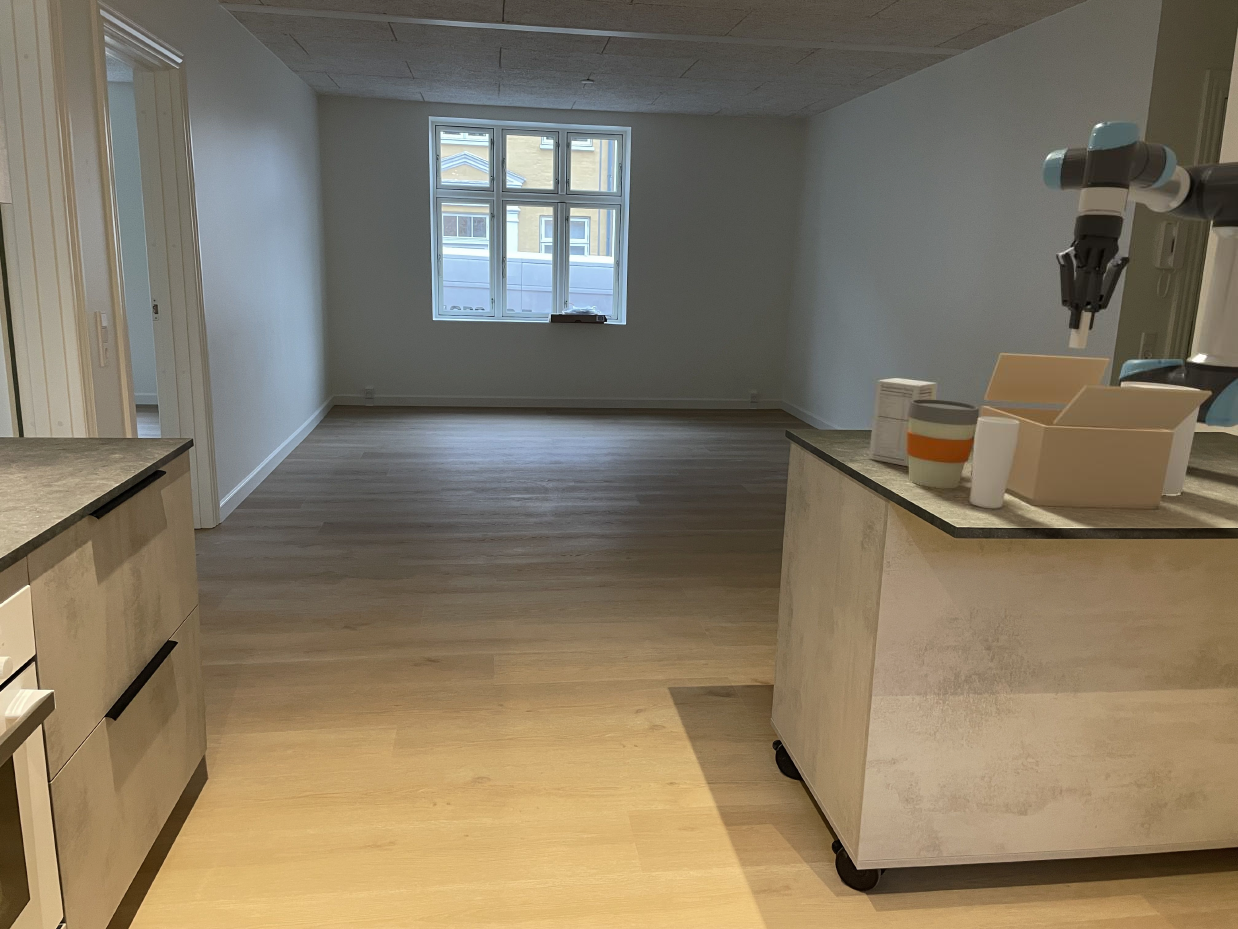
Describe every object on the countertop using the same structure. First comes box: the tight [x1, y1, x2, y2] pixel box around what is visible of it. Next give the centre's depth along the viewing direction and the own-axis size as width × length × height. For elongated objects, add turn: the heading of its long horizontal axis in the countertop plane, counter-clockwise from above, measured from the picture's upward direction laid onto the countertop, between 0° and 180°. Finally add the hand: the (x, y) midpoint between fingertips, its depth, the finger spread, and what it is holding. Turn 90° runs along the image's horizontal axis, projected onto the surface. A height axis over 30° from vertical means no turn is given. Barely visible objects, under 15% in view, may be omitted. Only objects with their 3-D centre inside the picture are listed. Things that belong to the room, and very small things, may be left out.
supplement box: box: [868, 377, 938, 468], centre depth 185 cm, size 10×9×17 cm
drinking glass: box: [969, 416, 1020, 510], centre depth 151 cm, size 7×7×15 cm
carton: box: [970, 405, 1174, 510], centre depth 165 cm, size 24×22×14 cm
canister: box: [1121, 382, 1200, 495], centre depth 173 cm, size 14×14×20 cm
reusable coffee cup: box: [907, 399, 980, 489], centre depth 166 cm, size 13×13×15 cm
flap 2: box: [1053, 385, 1212, 430], centre depth 148 cm, size 22×10×1 cm
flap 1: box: [983, 352, 1110, 405], centre depth 172 cm, size 22×10×1 cm
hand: (1076, 347), depth 162 cm, fingers closed
